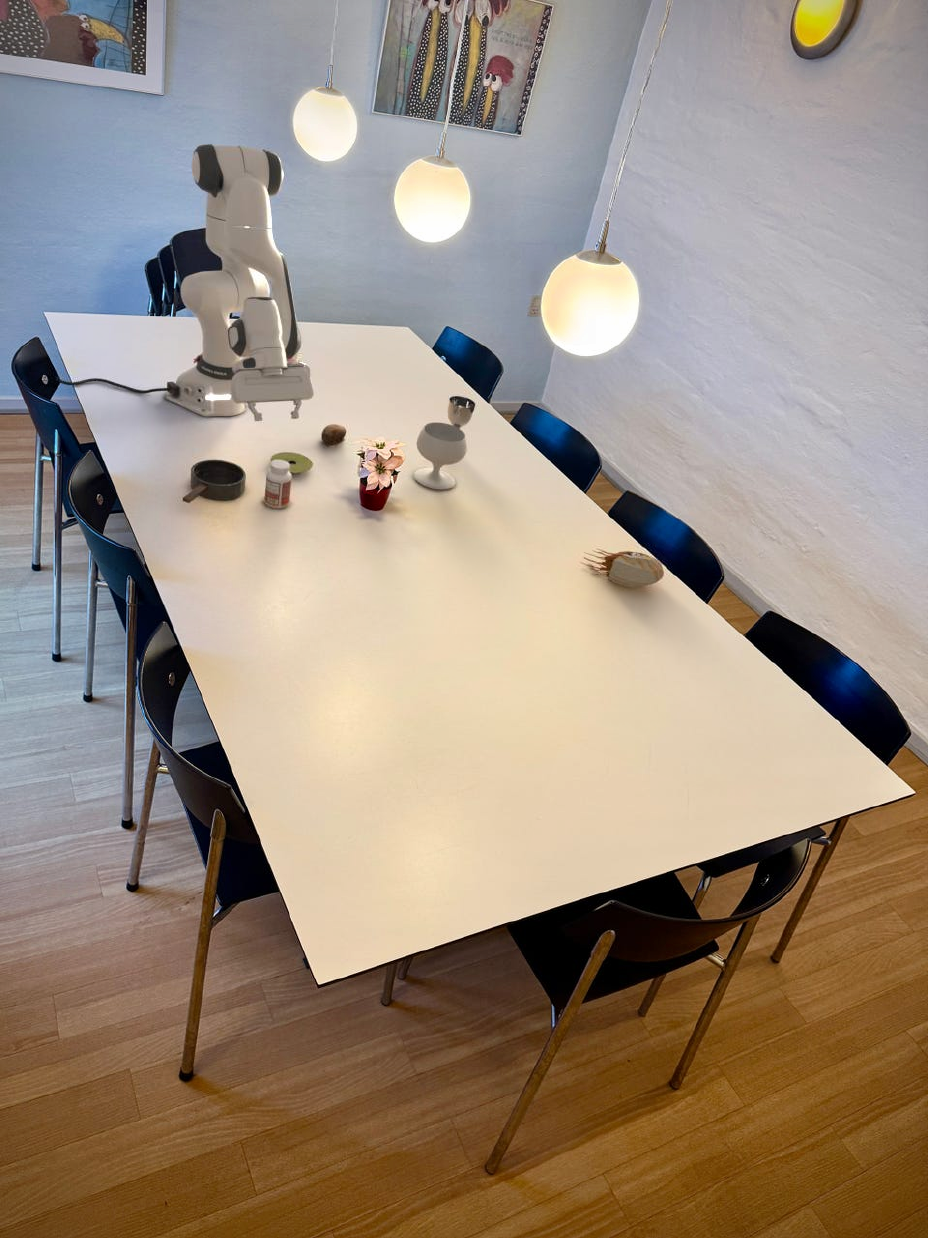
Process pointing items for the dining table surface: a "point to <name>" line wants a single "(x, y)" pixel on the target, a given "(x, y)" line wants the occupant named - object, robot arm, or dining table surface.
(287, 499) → the pill bottle
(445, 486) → the chalice
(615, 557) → the nautilus
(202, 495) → the pan
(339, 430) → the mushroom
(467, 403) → the wine glass
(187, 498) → the pan handle
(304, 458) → the green disc
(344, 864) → the dining table surface
